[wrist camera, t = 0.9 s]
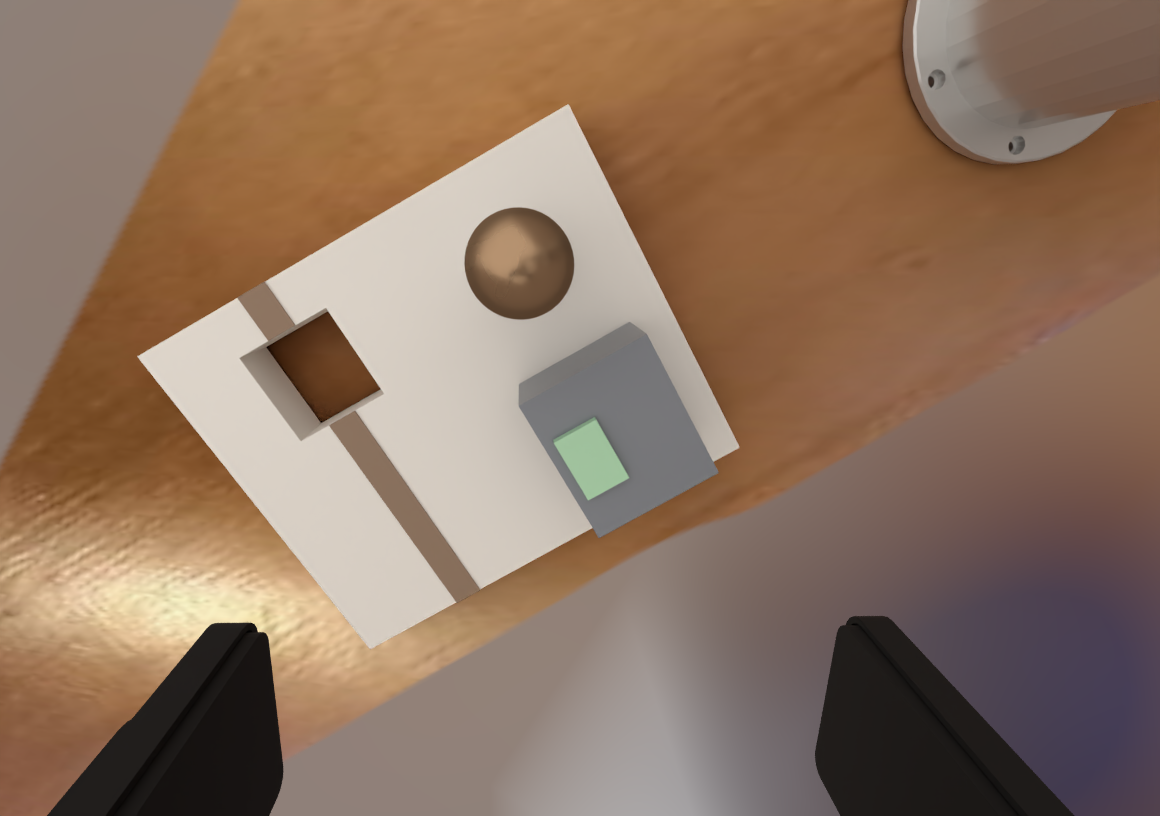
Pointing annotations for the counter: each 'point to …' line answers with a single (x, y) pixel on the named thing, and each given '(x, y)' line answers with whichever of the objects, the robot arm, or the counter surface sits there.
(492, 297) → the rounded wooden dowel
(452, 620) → the counter surface
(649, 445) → the block
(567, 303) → the white flat rectangular board
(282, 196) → the counter surface
